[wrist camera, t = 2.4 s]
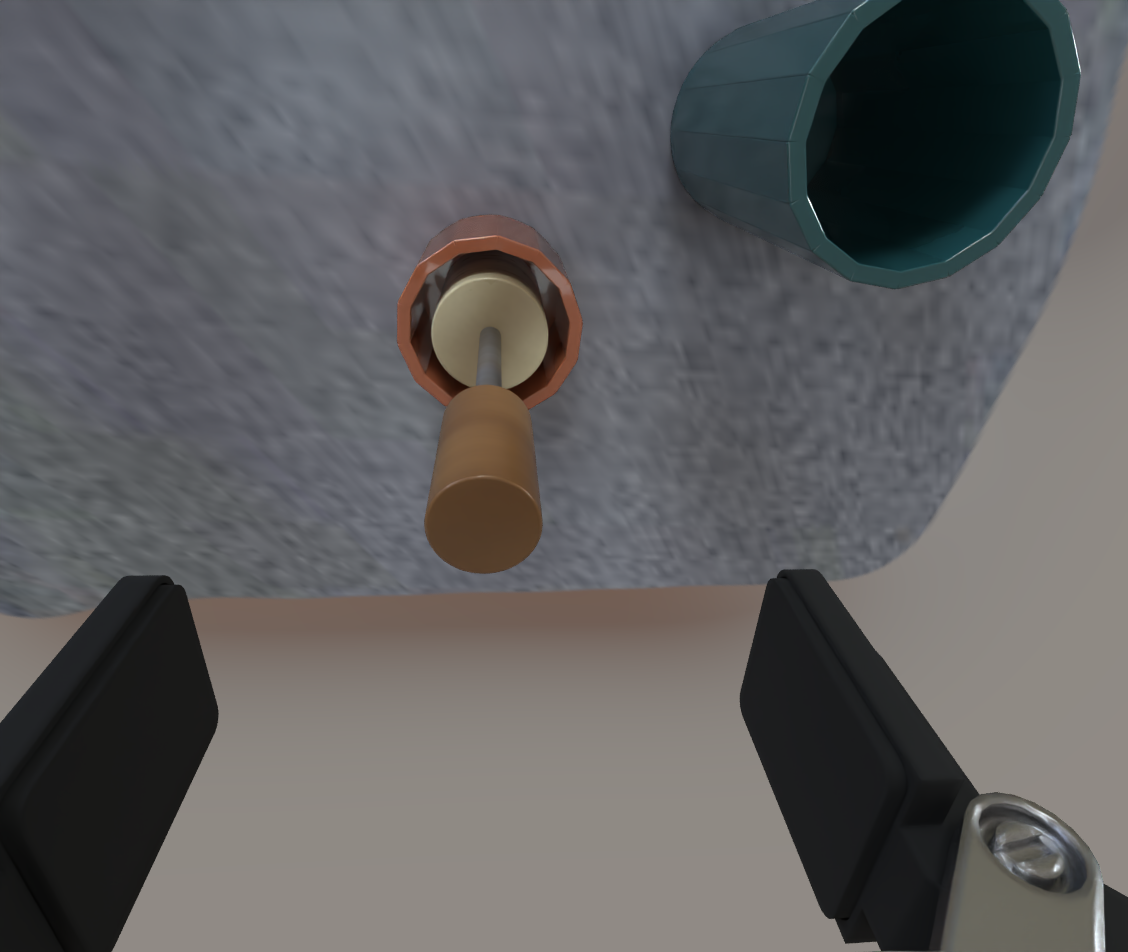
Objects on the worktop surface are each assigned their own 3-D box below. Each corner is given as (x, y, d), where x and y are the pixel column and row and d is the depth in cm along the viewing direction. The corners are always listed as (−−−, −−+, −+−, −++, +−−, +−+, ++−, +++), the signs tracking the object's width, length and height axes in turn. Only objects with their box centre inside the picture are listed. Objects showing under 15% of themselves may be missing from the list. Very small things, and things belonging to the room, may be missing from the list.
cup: (635, 157, 28) (729, 187, 17) (747, -21, 25) (948, -130, 14) (762, 252, 30) (919, 335, 19) (876, 99, 28) (1138, 89, 16)
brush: (425, 313, 30) (336, 561, 13) (472, 227, 28) (437, 388, 12) (508, 361, 31) (520, 638, 15) (558, 282, 30) (633, 493, 13)
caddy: (387, 321, 30) (364, 364, 25) (462, 179, 28) (454, 194, 23) (516, 393, 33) (520, 446, 28) (596, 268, 30) (617, 301, 25)
